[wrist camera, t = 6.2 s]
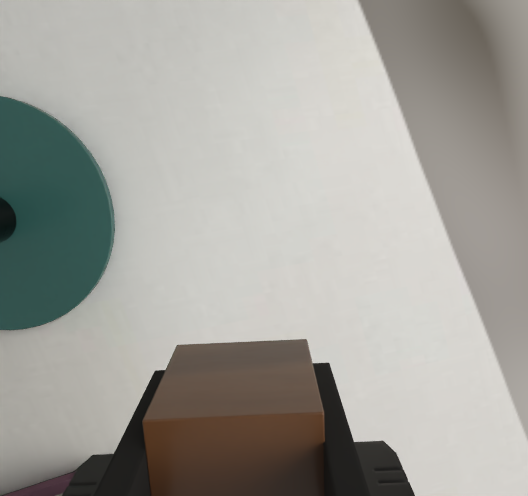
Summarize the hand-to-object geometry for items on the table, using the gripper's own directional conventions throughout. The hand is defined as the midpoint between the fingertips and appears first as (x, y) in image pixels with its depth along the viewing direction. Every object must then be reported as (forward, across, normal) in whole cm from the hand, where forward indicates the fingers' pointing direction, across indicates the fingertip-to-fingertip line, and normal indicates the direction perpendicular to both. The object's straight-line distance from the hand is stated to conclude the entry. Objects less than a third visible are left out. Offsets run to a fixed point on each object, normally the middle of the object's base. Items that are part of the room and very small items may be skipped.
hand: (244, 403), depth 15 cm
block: (0, 0, 0) cm, 0 cm away
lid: (+16, -17, +5) cm, 24 cm away
